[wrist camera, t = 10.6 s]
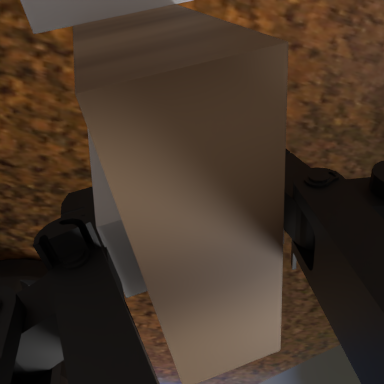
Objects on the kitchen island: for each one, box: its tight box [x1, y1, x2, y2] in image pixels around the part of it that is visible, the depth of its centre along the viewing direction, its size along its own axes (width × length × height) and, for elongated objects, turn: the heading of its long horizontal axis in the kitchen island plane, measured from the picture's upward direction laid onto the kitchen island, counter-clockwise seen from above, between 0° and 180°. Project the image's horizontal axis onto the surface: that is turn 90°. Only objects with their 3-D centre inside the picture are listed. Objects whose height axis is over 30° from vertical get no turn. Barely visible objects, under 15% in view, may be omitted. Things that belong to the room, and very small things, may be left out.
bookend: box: [20, 0, 288, 384], centre depth 9 cm, size 17×6×8 cm, turn 9°
